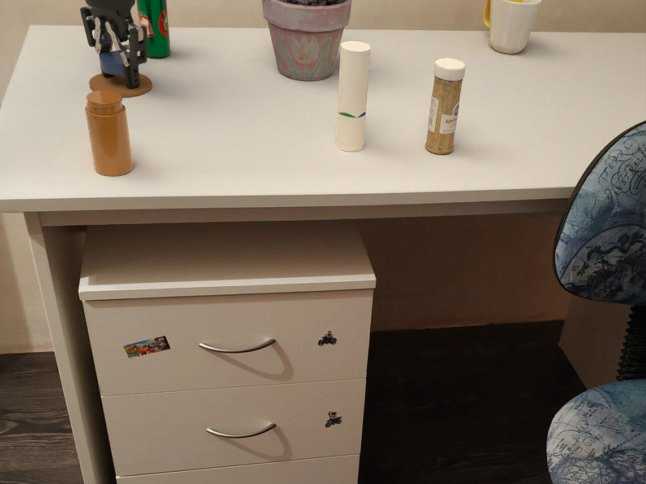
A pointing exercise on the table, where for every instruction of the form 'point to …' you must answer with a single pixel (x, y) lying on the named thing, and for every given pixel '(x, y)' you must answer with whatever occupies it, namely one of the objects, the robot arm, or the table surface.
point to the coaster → (120, 85)
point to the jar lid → (112, 63)
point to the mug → (510, 23)
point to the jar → (108, 133)
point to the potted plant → (306, 35)
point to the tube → (352, 95)
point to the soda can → (155, 26)
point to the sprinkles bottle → (444, 105)
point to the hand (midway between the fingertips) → (121, 81)
